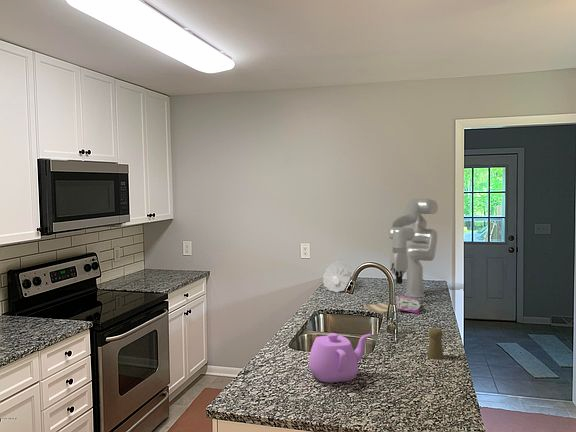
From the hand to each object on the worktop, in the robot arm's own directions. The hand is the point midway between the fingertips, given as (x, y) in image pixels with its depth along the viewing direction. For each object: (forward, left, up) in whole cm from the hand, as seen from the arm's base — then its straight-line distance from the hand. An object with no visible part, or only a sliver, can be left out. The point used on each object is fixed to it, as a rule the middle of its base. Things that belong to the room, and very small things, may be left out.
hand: (399, 283), depth 268 cm
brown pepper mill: (+50, +64, -13) cm, 82 cm away
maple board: (+12, 0, -13) cm, 18 cm away
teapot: (+94, +55, -13) cm, 109 cm away
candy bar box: (-4, +2, -10) cm, 11 cm away
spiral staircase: (-2, -54, -13) cm, 56 cm away
